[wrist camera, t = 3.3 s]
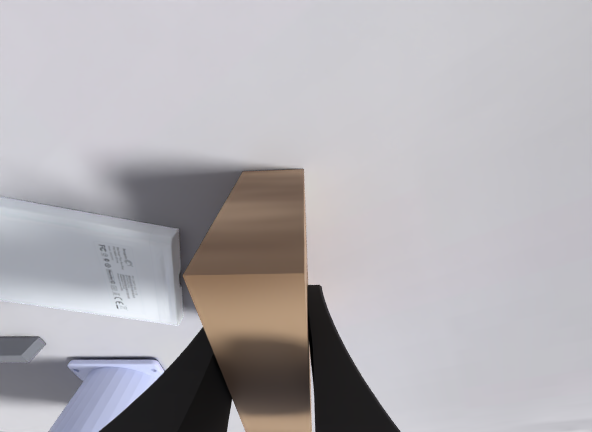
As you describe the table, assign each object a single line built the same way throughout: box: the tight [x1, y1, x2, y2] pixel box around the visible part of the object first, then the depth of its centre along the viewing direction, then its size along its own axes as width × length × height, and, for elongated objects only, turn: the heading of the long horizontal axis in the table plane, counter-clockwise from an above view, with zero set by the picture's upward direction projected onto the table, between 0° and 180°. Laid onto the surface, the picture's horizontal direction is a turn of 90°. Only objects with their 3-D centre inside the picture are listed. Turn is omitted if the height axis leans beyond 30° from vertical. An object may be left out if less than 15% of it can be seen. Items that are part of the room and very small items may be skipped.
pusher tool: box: [183, 169, 312, 432], centre depth 12 cm, size 11×3×7 cm, turn 3°
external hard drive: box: [0, 196, 183, 326], centre depth 15 cm, size 2×8×12 cm
